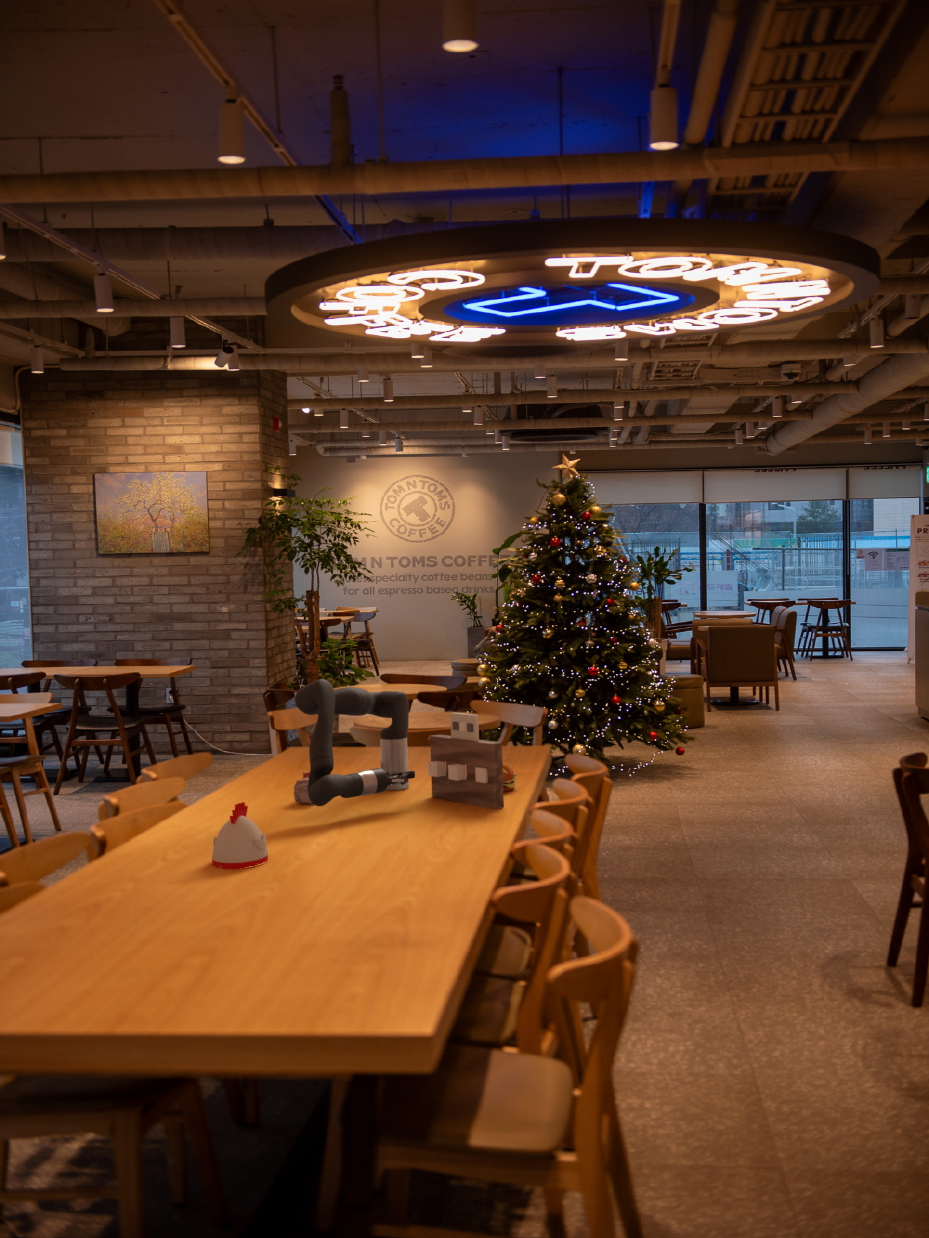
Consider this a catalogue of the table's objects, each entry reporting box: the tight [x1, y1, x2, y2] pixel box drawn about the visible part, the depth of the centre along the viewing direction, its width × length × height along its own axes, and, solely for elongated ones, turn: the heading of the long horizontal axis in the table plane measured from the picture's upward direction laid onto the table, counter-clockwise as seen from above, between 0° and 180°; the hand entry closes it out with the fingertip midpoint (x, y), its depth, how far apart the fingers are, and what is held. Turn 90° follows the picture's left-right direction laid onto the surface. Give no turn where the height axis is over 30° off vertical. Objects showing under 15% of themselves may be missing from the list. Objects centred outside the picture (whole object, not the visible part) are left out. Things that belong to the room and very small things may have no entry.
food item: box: [293, 771, 315, 806], centre depth 348 cm, size 14×8×10 cm, turn 171°
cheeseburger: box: [503, 762, 517, 792], centre depth 359 cm, size 10×11×10 cm
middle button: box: [448, 764, 467, 781], centre depth 337 cm, size 4×4×4 cm
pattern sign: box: [450, 712, 480, 741], centre depth 339 cm, size 2×12×8 cm, turn 41°
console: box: [429, 734, 505, 810], centre depth 340 cm, size 4×30×20 cm, turn 41°
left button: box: [427, 760, 446, 777], centre depth 345 cm, size 4×4×4 cm
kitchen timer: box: [211, 802, 269, 870], centre depth 272 cm, size 14×14×15 cm
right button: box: [475, 767, 488, 783], centre depth 332 cm, size 4×4×4 cm
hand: (413, 774), depth 337 cm, fingers closed
